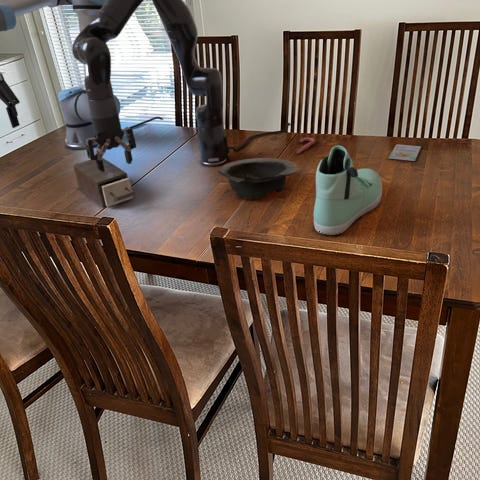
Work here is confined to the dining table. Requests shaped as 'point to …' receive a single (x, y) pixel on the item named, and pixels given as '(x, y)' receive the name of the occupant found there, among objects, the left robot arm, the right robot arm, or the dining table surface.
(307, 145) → the candy cane
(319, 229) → the sneaker
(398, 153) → the baking ingredient package
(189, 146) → the dining table surface
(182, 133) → the dining table surface
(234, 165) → the stone bowl
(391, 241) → the dining table surface
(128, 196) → the drawer
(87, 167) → the cabinet
